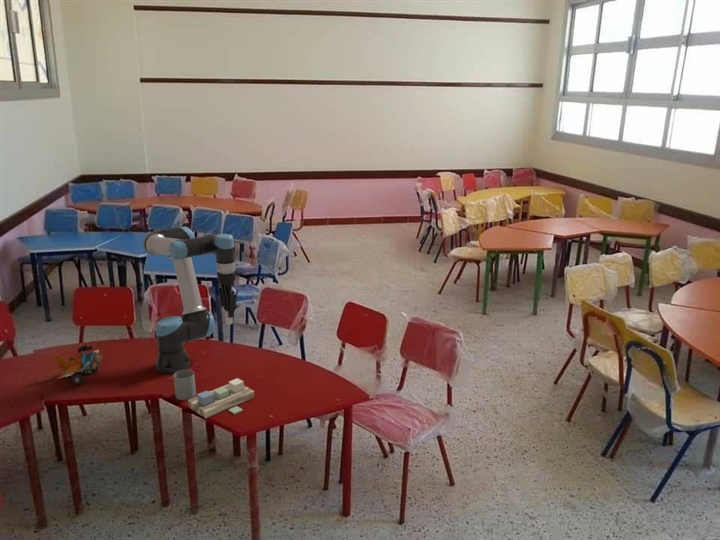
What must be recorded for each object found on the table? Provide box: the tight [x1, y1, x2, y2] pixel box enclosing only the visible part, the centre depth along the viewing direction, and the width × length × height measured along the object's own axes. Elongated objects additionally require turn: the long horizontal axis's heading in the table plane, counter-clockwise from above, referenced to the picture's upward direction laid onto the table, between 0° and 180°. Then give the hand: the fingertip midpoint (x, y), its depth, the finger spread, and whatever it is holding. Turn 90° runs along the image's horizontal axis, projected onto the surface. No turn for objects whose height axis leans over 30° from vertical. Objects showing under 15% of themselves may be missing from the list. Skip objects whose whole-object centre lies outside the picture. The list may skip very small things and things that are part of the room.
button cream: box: [228, 377, 245, 394], centre depth 246 cm, size 4×4×4 cm
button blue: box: [196, 390, 214, 407], centre depth 236 cm, size 4×4×4 cm
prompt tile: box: [228, 405, 243, 415], centre depth 235 cm, size 4×4×1 cm
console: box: [187, 383, 255, 420], centre depth 242 cm, size 13×24×3 cm, turn 136°
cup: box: [173, 369, 197, 401], centre depth 246 cm, size 8×8×10 cm
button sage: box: [213, 386, 229, 400], centre depth 241 cm, size 4×4×4 cm
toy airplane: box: [53, 344, 104, 385], centre depth 260 cm, size 29×23×15 cm
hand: (229, 323), depth 249 cm, fingers closed
